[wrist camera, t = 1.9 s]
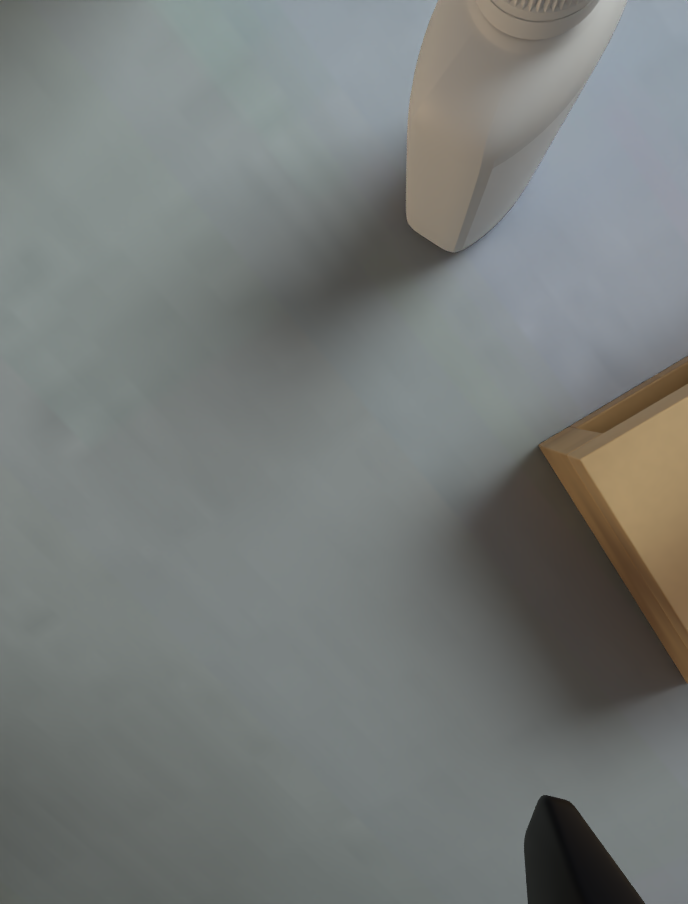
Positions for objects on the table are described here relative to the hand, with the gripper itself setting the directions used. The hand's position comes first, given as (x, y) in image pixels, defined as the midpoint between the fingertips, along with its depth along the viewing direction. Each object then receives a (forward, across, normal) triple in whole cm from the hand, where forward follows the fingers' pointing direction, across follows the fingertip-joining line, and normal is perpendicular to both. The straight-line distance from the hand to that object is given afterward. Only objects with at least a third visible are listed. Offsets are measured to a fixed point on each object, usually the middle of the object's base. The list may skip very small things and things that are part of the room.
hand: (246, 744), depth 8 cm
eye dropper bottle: (+14, -2, -11) cm, 18 cm away
